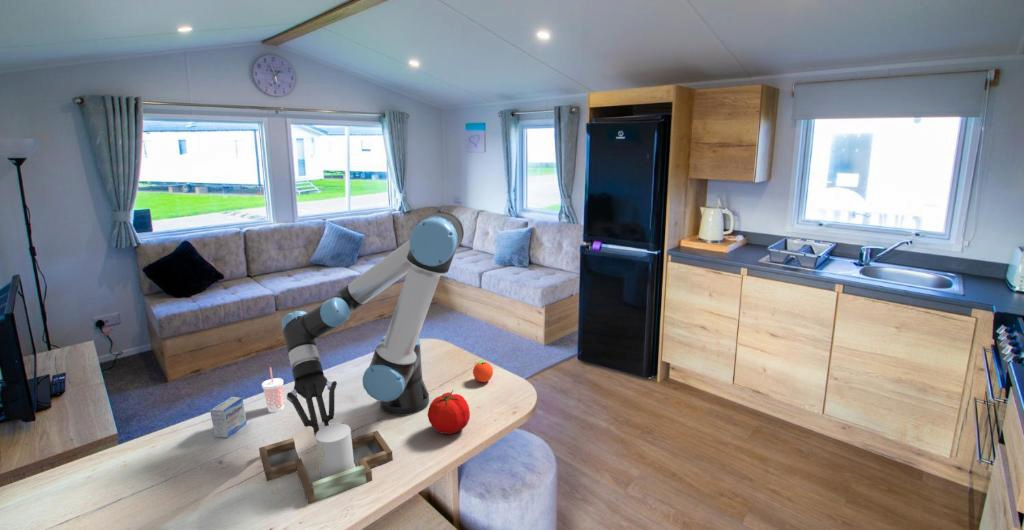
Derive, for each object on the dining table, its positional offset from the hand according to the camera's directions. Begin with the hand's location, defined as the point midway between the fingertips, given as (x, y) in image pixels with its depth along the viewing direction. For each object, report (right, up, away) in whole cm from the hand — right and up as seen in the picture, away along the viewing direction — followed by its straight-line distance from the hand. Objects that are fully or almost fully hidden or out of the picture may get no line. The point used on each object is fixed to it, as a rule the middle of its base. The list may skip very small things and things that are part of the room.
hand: (326, 448), depth 130 cm
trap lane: (0, -5, +2) cm, 5 cm away
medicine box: (-35, -2, +19) cm, 39 cm away
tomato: (+29, -1, +17) cm, 34 cm away
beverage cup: (-27, +2, +30) cm, 41 cm away
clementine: (+37, +7, +47) cm, 60 cm away
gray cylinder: (+4, -6, -2) cm, 7 cm away
